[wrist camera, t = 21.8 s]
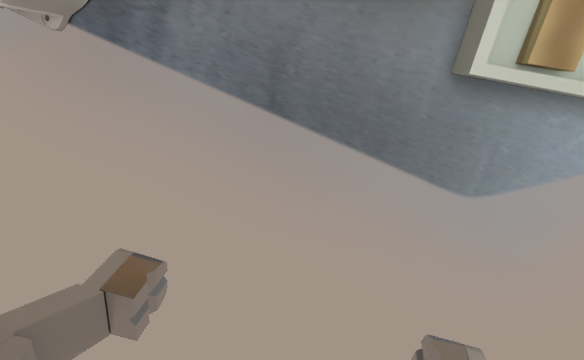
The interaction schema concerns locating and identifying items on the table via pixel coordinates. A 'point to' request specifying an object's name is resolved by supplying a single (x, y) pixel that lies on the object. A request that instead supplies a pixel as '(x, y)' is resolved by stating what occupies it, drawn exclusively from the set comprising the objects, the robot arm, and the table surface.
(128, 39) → the table surface
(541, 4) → the tan wooden bar
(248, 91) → the table surface
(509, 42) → the bin
